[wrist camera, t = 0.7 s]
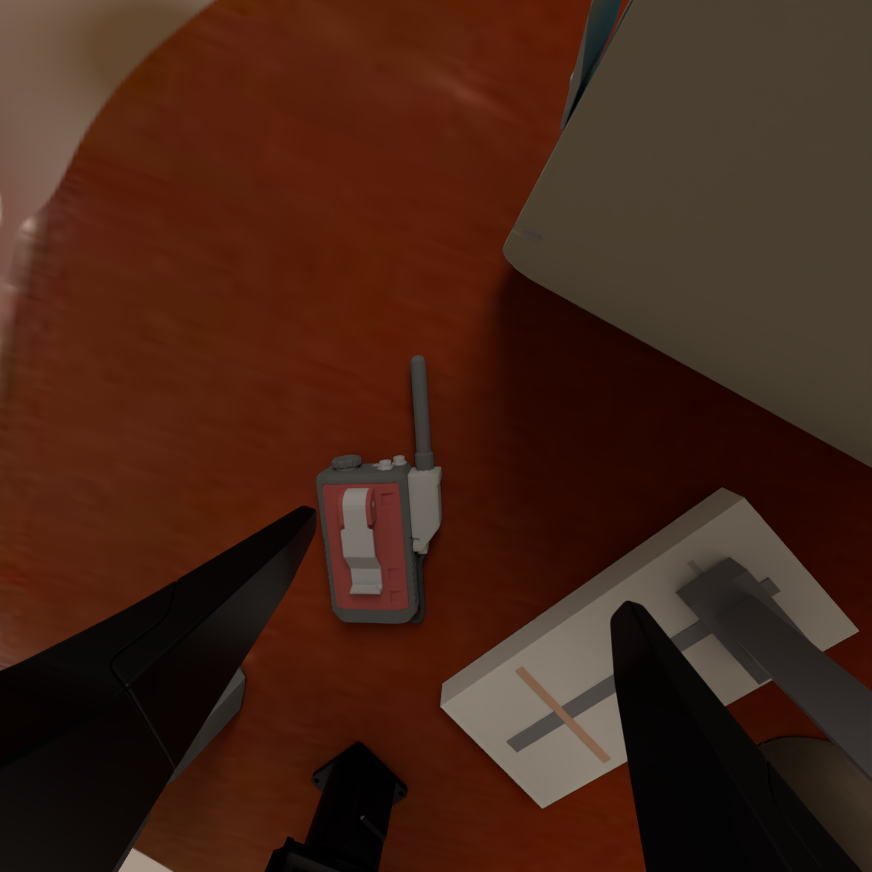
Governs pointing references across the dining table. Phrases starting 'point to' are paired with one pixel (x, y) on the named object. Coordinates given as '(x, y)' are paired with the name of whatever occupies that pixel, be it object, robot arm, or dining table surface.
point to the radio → (723, 198)
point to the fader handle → (783, 656)
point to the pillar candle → (828, 790)
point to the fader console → (592, 652)
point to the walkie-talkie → (382, 525)
